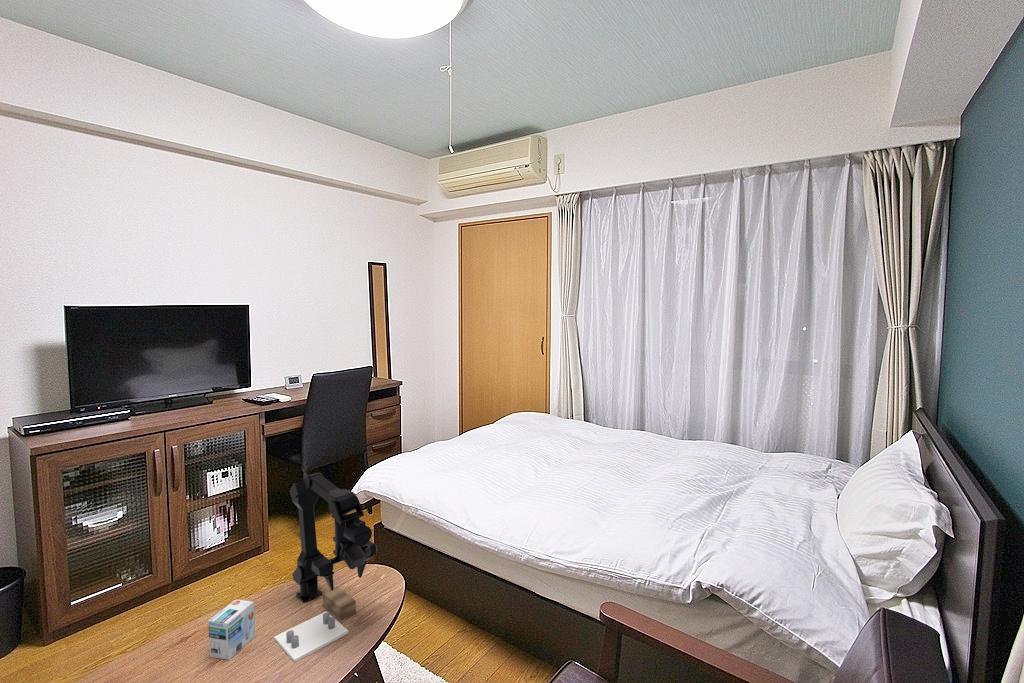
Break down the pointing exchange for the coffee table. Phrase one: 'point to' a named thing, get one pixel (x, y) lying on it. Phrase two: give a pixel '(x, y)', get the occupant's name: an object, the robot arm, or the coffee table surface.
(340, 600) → the walnut board
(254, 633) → the light bulb box
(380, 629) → the coffee table surface
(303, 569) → the robot arm
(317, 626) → the peg stand
